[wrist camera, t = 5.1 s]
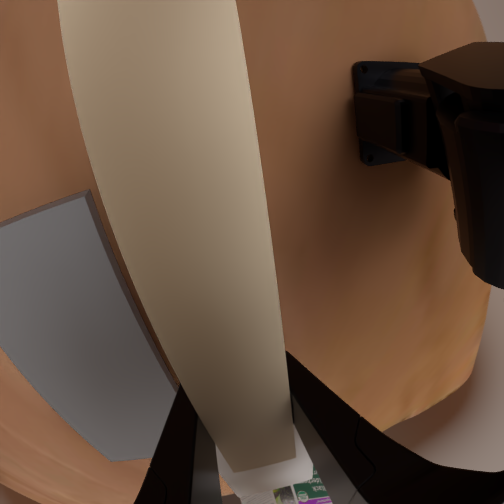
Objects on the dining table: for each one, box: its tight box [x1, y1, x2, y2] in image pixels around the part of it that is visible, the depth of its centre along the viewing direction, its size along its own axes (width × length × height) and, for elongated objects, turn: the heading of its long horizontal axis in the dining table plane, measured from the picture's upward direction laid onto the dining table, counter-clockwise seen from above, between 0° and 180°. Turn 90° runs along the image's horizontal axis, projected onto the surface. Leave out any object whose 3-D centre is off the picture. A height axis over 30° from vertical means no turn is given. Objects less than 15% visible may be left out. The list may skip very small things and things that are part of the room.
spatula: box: [57, 0, 313, 497], centre depth 10 cm, size 5×24×3 cm, turn 9°
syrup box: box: [240, 465, 333, 504], centre depth 24 cm, size 6×6×14 cm
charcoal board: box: [0, 189, 178, 462], centre depth 22 cm, size 12×28×1 cm, turn 9°
